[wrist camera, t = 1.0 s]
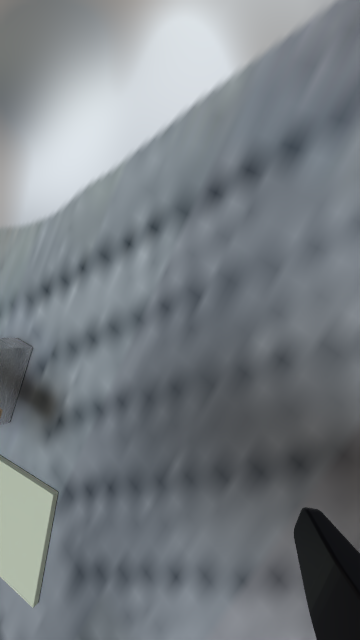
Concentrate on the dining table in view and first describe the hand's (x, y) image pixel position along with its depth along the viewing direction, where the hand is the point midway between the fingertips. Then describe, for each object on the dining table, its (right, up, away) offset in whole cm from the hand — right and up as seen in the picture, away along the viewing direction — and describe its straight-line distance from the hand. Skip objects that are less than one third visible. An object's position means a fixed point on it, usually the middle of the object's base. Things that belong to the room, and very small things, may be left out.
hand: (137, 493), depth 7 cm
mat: (-20, -13, +21) cm, 32 cm away
